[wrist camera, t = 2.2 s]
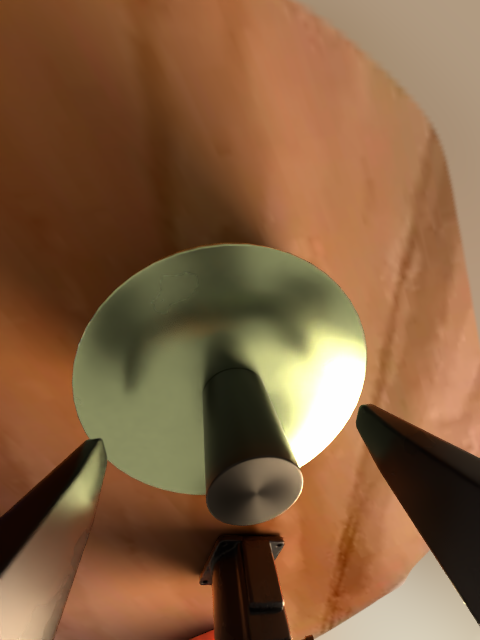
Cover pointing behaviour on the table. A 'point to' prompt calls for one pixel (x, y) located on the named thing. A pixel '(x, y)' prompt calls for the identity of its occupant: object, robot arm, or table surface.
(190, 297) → the lid
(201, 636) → the french fries container
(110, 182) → the table surface
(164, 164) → the table surface
